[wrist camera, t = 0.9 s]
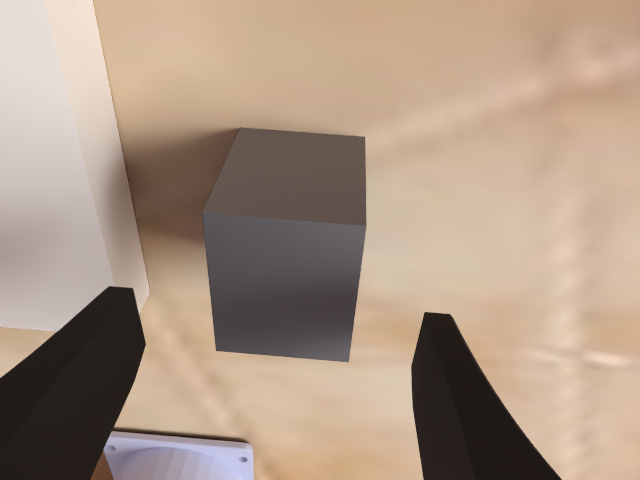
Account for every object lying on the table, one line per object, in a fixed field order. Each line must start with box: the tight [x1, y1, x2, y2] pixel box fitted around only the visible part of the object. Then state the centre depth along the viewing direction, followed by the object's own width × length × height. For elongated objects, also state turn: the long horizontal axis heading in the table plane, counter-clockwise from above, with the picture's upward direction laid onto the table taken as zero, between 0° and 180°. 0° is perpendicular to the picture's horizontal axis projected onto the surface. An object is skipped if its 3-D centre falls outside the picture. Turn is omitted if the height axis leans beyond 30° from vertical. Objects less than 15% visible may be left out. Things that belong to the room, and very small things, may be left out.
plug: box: [202, 128, 366, 362], centre depth 16 cm, size 5×4×5 cm
